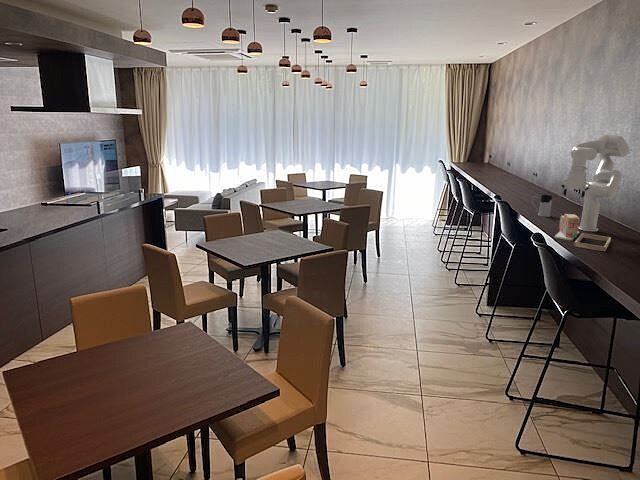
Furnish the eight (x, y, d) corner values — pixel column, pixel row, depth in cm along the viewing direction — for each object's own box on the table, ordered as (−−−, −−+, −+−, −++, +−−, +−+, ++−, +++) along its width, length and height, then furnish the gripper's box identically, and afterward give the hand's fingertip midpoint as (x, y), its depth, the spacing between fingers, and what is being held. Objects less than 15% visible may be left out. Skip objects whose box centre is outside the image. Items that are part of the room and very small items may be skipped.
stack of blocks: (558, 229, 326) (561, 210, 323) (568, 230, 325) (571, 211, 322) (565, 237, 306) (568, 217, 303) (576, 238, 305) (580, 218, 301)
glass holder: (549, 217, 369) (552, 197, 365) (528, 214, 377) (531, 194, 373) (551, 215, 376) (554, 195, 373) (531, 212, 384) (534, 193, 380)
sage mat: (562, 230, 328) (562, 228, 328) (578, 232, 323) (579, 231, 322) (554, 237, 307) (554, 236, 307) (572, 240, 302) (572, 239, 302)
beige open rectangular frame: (581, 237, 312) (582, 233, 311) (610, 241, 303) (611, 237, 302) (573, 246, 289) (574, 242, 288) (604, 251, 280) (605, 247, 279)
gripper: (594, 169, 303) (590, 197, 307) (563, 167, 312) (559, 194, 317) (593, 170, 297) (588, 199, 301) (561, 168, 306) (557, 195, 311)
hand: (573, 196), depth 309 cm, fingers open, 9 cm apart
